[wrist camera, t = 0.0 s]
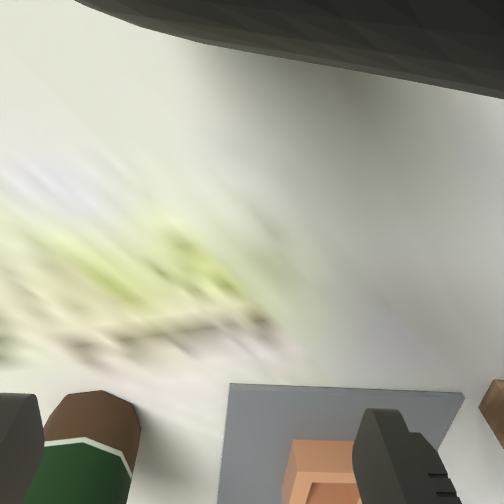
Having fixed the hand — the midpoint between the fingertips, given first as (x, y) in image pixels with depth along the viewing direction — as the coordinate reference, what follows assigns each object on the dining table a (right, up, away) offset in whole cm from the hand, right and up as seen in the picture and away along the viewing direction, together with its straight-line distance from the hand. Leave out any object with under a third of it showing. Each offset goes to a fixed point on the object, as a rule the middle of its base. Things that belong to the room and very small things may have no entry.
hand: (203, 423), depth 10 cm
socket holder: (+8, -16, +30) cm, 35 cm away
